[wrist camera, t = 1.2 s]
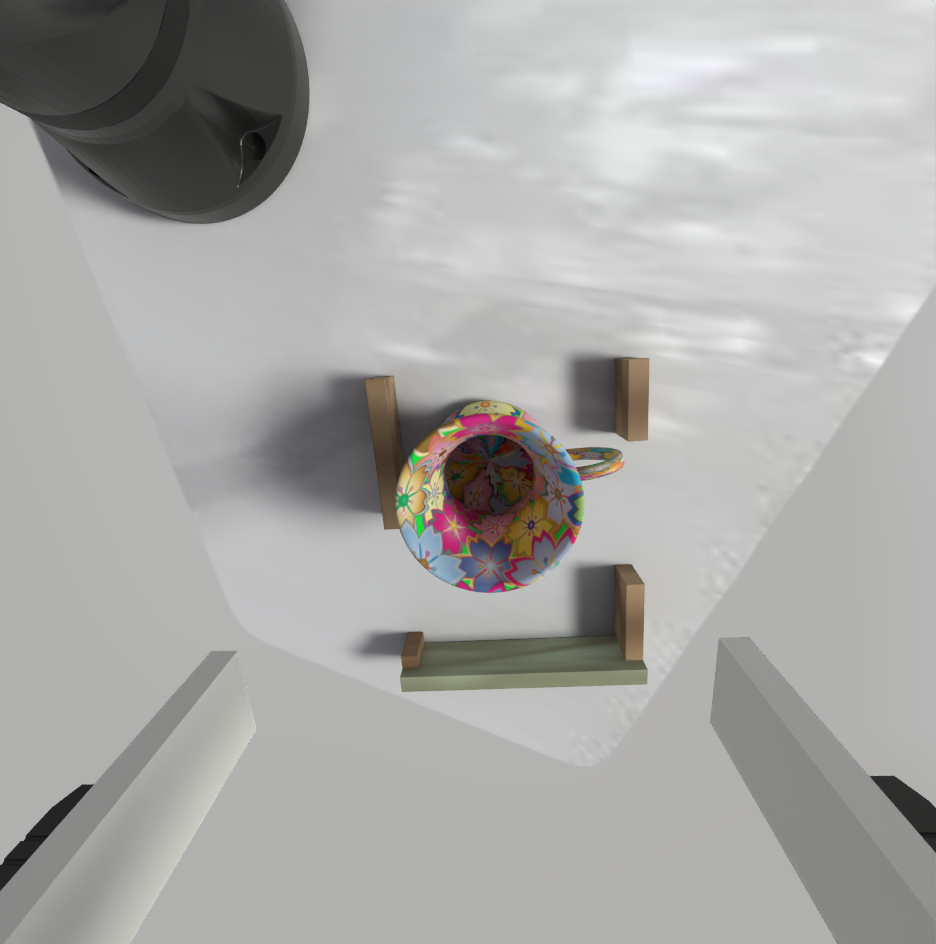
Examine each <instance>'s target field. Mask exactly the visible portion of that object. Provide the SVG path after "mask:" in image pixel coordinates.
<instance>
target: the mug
mask: <svg viewBox="0 0 936 944" xmlns="http://www.w3.org/2000/svg"><path fill="white" fill-rule="evenodd" d="M575 460H606V461H604V462H600V463H597V464H593V465H589V466H583V467H576V466H575V464H574V462H573V461H575ZM623 465H624V457H623V454H622V452H621V451H619V450H617V449H613V448H603V447H588V448H574V449H564V448H563V446H562V445H561V444H560V443H559V442H558V441H557V440H556V439H555V438H554V437H553V436H552V435H550V434H549V433H548V432H546V431H545V430H544V429H542V428H541V427H540V425H539V424H538V423H537V422H536V421H535V420H534V419H533V418H532V417H531V416H530V415H529V414H528V413H526V412H525V411H523V410H522V409H520V408H518V407H516V406H514V405H511V404H508V403H504V402H499V401H481V402H476V403H472V404H469V405H466V406H464V407H462V408H460V409H458V410H456V411H455V412H453V413H452V414H451V415H450V416H448V417H447V418H446V419H445V420H444V421H443V422H442V424H441V425H440V426H439V427H438V428H437V429H435V430H434V431H432V432H431V433H430V434H428V435H427V436H426V437H425V438H424V439H423V440H422V441H421V442H420V443H419V444H418V445H417V446H416V447H415V449H414V450H413V451H412V453H411V454H410V455H409V457H408V459H407V460H406V462H405V464H404V466H403V468H402V471H401V473H400V476H399V479H398V484H397V488H396V497H395V507H396V516H397V522H398V525H399V529H400V532H401V534H402V537H403V539H404V541H405V543H406V545H407V547H408V548H409V550H410V551H411V553H412V554H413V555H414V557H415V558H416V559H417V560H418V561H419V562H420V563H421V565H422V566H423V567H425V568H426V569H427V570H428V571H429V572H430V573H432V574H433V575H435V576H436V577H438V578H439V579H441V580H443V581H444V582H447V583H449V584H451V585H453V586H456V587H459V588H462V589H466V590H469V591H475V592H485V593H496V592H505V591H511V590H515V589H518V588H522V587H524V586H527V585H530V584H532V583H534V582H536V581H538V580H539V579H541V578H542V577H544V576H546V575H547V574H548V573H550V572H551V571H552V570H553V569H554V568H555V567H557V566H558V565H559V564H560V562H561V561H562V560H563V559H564V558H565V557H566V555H567V554H568V553H569V551H570V549H571V548H572V546H573V544H574V543H575V540H576V538H577V536H578V534H579V531H580V528H581V524H582V520H583V513H584V493H583V487H582V482H581V481H583V480H590V479H595V478H599V477H603V476H606V475H609V474H612V473H614V472H616V471H618V470H619V469H621V468H622V467H623Z"/></svg>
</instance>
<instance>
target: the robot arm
mask: <svg viewBox="0 0 936 944" xmlns="http://www.w3.org/2000/svg"><path fill="white" fill-rule="evenodd" d="M0 103H2V104H5V105H6V106H8V107H10V108H12V109H14V110H16V111H18V112H20V113H22V114H24V115H26V116H28V117H30V118H31V119H32V120H33V121H34V122H35V123H36V124H38V125H39V126H40V127H41V128H42V129H43V130H45V131H46V132H47V133H49V134H50V135H51V136H52V137H54V138H55V139H56V140H57V141H58V142H59V143H61V144H62V145H63V146H64V147H65V148H66V149H67V150H68V152H69V153H70V154H71V155H72V156H73V157H74V158H75V160H76V161H77V162H78V163H79V164H80V165H81V166H82V167H83V168H84V169H85V170H86V171H88V172H89V173H90V174H91V175H92V176H93V177H94V178H95V179H96V180H98V181H99V182H100V183H101V184H103V185H104V186H105V187H107V188H108V189H110V190H111V191H113V192H114V193H116V194H117V195H119V196H121V197H122V198H124V199H126V200H128V201H130V202H131V203H134V204H136V205H138V206H140V207H143V208H145V209H148V210H150V211H152V212H155V213H157V214H160V215H162V216H165V217H168V218H171V219H174V220H178V221H183V222H190V223H214V222H221V221H225V220H229V219H232V218H235V217H238V216H240V215H243V214H245V213H247V212H249V211H250V210H252V209H254V208H255V207H257V206H258V205H260V204H261V203H262V202H264V201H265V200H266V199H267V198H268V197H269V196H270V195H271V194H272V193H273V192H274V191H275V190H276V189H277V188H278V187H279V186H280V184H281V183H282V182H283V180H284V179H285V177H286V176H287V174H288V173H289V171H290V169H291V168H292V166H293V164H294V162H295V160H296V157H297V155H298V153H299V150H300V147H301V145H302V141H303V138H304V134H305V130H306V125H307V119H308V111H309V77H308V68H307V62H306V57H305V53H304V48H303V44H302V41H301V38H300V35H299V32H298V29H297V26H296V24H295V21H294V19H293V17H292V15H291V12H290V10H289V9H288V7H287V5H286V3H285V1H284V0H0ZM710 723H711V724H712V726H713V728H714V730H715V731H716V733H717V735H718V737H719V738H720V740H721V742H722V744H723V745H724V747H725V749H726V751H727V752H728V754H729V756H730V758H731V759H732V761H733V763H734V764H735V766H736V768H737V770H738V771H739V773H740V775H741V777H742V778H743V780H744V782H745V784H746V785H747V787H748V789H749V791H750V792H751V794H752V796H753V798H754V799H755V801H756V803H757V805H758V806H759V808H760V810H761V811H762V813H763V815H764V817H765V818H766V820H767V822H768V824H769V825H770V827H771V829H772V831H773V832H774V834H775V836H776V838H777V839H778V841H779V843H780V845H781V846H782V848H783V850H784V851H785V853H786V855H787V857H788V858H789V860H790V862H791V864H792V865H793V867H794V869H795V871H796V872H797V874H798V876H799V878H800V879H801V881H802V883H803V885H804V886H805V888H806V890H807V892H808V893H809V895H810V897H811V899H812V900H813V902H814V904H815V905H816V907H817V909H818V911H819V912H820V914H821V916H822V918H823V919H824V921H825V923H826V925H827V926H828V928H829V930H830V932H831V933H832V935H833V937H834V939H835V940H836V942H837V944H936V808H935V807H934V806H933V805H932V804H931V803H930V802H929V801H928V800H927V799H925V798H924V797H923V796H921V795H920V794H919V793H917V792H916V791H914V790H913V789H912V788H910V787H909V786H907V785H906V784H904V783H903V782H902V781H901V780H899V779H898V778H896V777H895V776H869V775H868V774H867V773H866V772H865V771H864V770H863V768H862V767H861V766H860V765H859V764H858V763H857V761H856V760H855V759H854V758H853V757H852V756H851V754H850V753H849V752H848V751H847V750H846V749H845V748H844V747H843V745H842V744H841V743H840V742H839V741H838V739H837V738H836V737H835V736H834V735H833V734H832V733H831V731H830V730H829V729H828V728H827V727H826V726H825V724H824V723H823V722H822V721H821V720H820V719H819V718H818V716H817V715H816V714H815V713H814V712H813V711H812V709H811V708H810V707H809V706H808V705H807V704H806V703H805V701H804V700H803V699H802V698H801V697H800V696H799V694H798V693H797V692H796V691H795V690H794V689H793V687H792V686H791V685H790V684H789V683H788V682H787V681H786V679H785V678H784V677H783V676H782V675H781V674H780V673H779V671H778V670H777V669H776V668H775V667H774V666H773V664H772V663H771V662H770V661H769V660H768V659H767V658H766V656H765V655H764V654H763V653H762V652H761V651H760V650H759V648H758V647H757V646H756V645H755V644H754V642H753V641H752V640H751V639H750V638H749V637H741V638H719V643H718V653H717V662H716V672H715V682H714V691H713V701H712V710H711V719H710ZM255 731H256V725H255V721H254V717H253V713H252V708H251V704H250V700H249V696H248V692H247V688H246V683H245V679H244V675H243V671H242V667H241V663H240V659H239V655H238V651H211V652H210V653H209V655H208V656H207V657H206V658H205V659H204V660H203V661H202V663H201V664H200V665H199V666H198V667H197V668H196V669H195V671H194V672H193V673H192V674H191V675H190V676H189V677H188V679H187V680H186V681H185V682H184V683H183V684H182V685H181V686H180V688H179V689H178V690H177V691H176V692H175V693H174V695H173V696H172V697H171V698H170V699H169V700H168V701H167V702H166V703H165V705H164V706H163V707H162V708H161V709H160V710H159V711H158V713H157V714H156V715H155V716H154V717H153V718H152V720H151V721H150V722H149V723H148V724H147V725H146V727H144V728H143V730H142V731H141V732H140V733H139V734H138V735H137V736H136V738H135V739H134V740H133V741H132V742H131V743H130V744H129V746H128V747H127V748H126V749H125V750H124V751H123V752H122V753H121V755H120V756H119V757H118V758H117V759H116V760H115V761H114V763H113V764H112V765H111V766H110V767H109V768H108V769H107V770H106V772H105V773H104V774H103V775H102V776H101V777H100V778H99V780H98V781H97V782H96V783H95V784H94V785H81V786H80V787H79V788H77V789H76V790H74V791H73V792H72V793H70V794H69V795H68V796H67V797H65V798H64V799H63V800H61V801H60V802H59V803H58V804H56V805H55V806H53V807H52V808H51V809H50V810H49V811H48V812H47V813H46V814H45V816H44V817H43V818H42V819H41V820H40V821H39V822H38V823H37V824H36V825H35V826H34V827H33V829H32V830H31V831H30V832H29V833H28V834H27V835H26V838H25V840H24V841H21V842H19V844H18V845H17V846H16V847H15V848H14V849H13V850H12V851H11V852H10V853H9V854H8V855H7V857H6V858H5V859H4V862H3V864H2V865H0V944H130V943H131V941H132V939H133V938H134V936H135V934H136V933H137V931H138V929H139V928H140V926H141V924H142V922H143V921H144V919H145V917H146V916H147V914H148V912H149V910H150V909H151V907H152V905H153V904H154V902H155V900H156V899H157V897H158V895H159V894H160V892H161V890H162V889H163V887H164V885H165V883H166V882H167V880H168V878H169V877H170V875H171V873H172V872H173V870H174V868H175V867H176V865H177V863H178V861H179V860H180V858H181V856H182V855H183V853H184V851H185V850H186V848H187V846H188V845H189V843H190V841H191V839H192V838H193V836H194V834H195V833H196V831H197V829H198V828H199V826H200V824H201V823H202V820H203V819H204V817H205V816H206V814H207V812H208V810H209V809H210V807H211V806H212V804H213V802H214V800H215V799H216V797H217V795H218V794H219V792H220V790H221V788H222V787H223V785H224V784H225V782H226V780H227V779H228V777H229V775H230V773H231V772H232V770H233V768H234V767H235V765H236V763H237V762H238V760H239V758H240V756H241V755H242V753H243V751H244V750H245V748H246V746H247V745H248V743H249V741H250V740H251V738H252V736H253V734H254V733H255Z"/></svg>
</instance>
